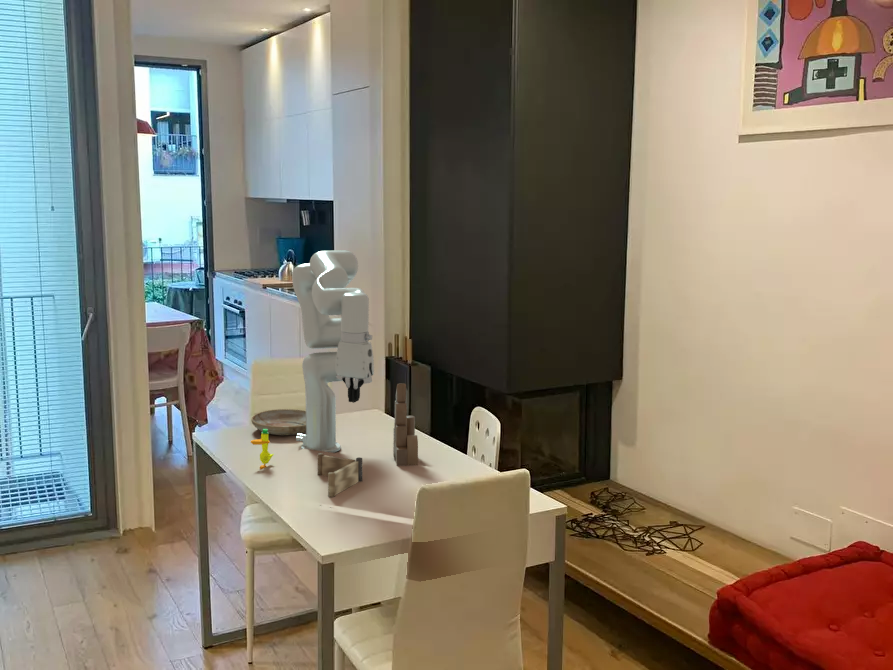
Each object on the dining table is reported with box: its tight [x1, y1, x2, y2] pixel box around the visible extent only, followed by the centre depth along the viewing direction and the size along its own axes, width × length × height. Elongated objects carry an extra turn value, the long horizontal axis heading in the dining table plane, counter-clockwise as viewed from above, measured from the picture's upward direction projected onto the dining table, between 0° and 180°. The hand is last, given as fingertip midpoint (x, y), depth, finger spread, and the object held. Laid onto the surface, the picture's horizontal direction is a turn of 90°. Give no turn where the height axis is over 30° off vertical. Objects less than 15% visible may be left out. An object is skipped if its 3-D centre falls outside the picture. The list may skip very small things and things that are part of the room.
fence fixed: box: [317, 452, 363, 483], centre depth 250 cm, size 14×2×7 cm, turn 68°
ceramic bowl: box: [251, 408, 306, 436], centre depth 302 cm, size 23×24×5 cm
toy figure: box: [250, 429, 275, 470], centre depth 261 cm, size 7×4×12 cm, turn 99°
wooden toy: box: [392, 383, 419, 467], centre depth 268 cm, size 16×7×25 cm, turn 8°
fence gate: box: [327, 460, 359, 498], centre depth 241 cm, size 14×2×6 cm, turn 155°
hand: (353, 401), depth 245 cm, fingers closed
